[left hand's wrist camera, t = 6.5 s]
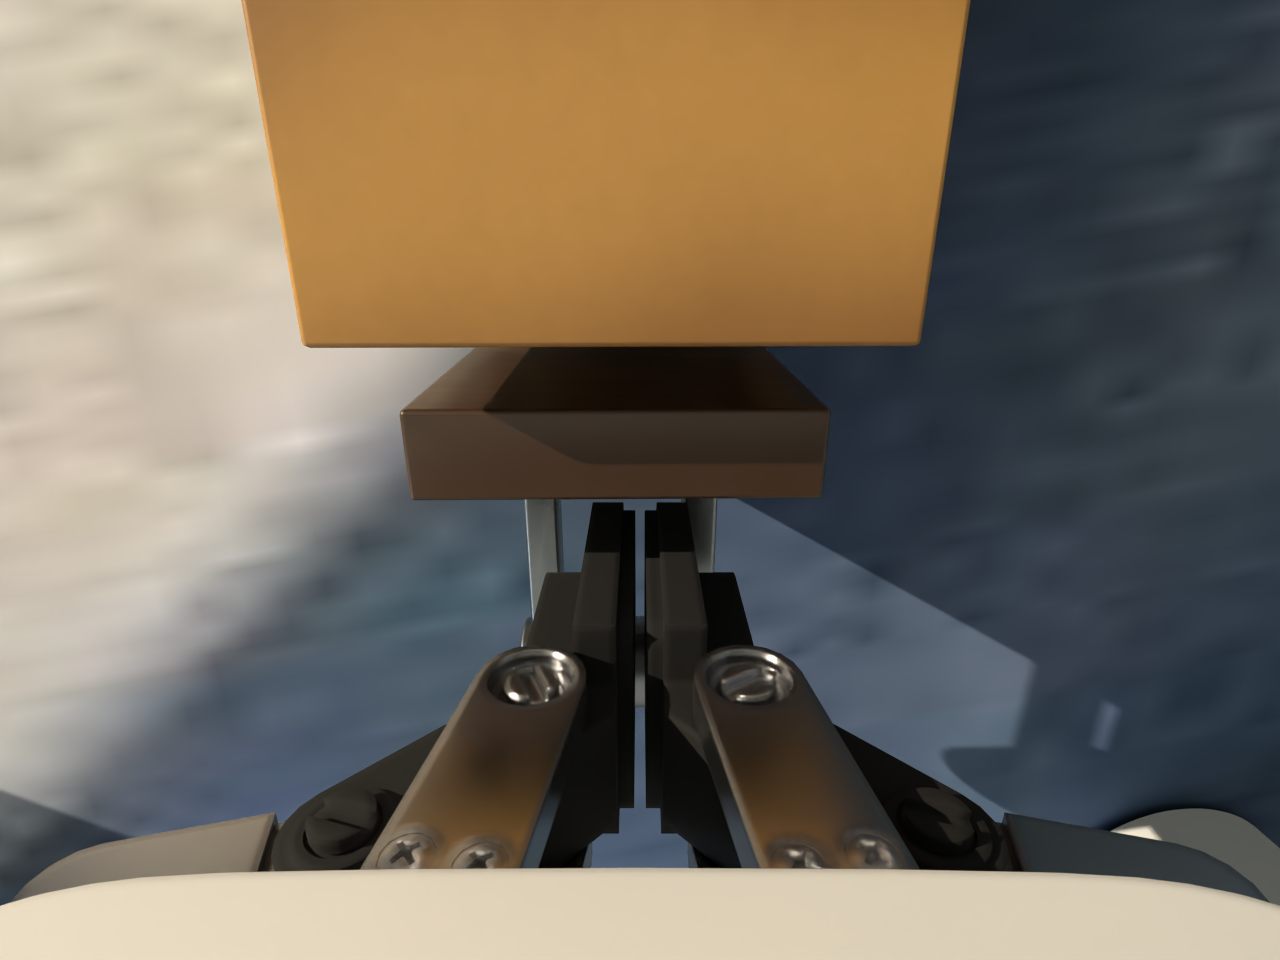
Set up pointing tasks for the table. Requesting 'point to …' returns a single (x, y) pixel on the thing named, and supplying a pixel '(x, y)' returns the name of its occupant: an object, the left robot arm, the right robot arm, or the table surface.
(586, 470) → the drawer
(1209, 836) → the coffee cup
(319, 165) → the cabinet
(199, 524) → the table surface
